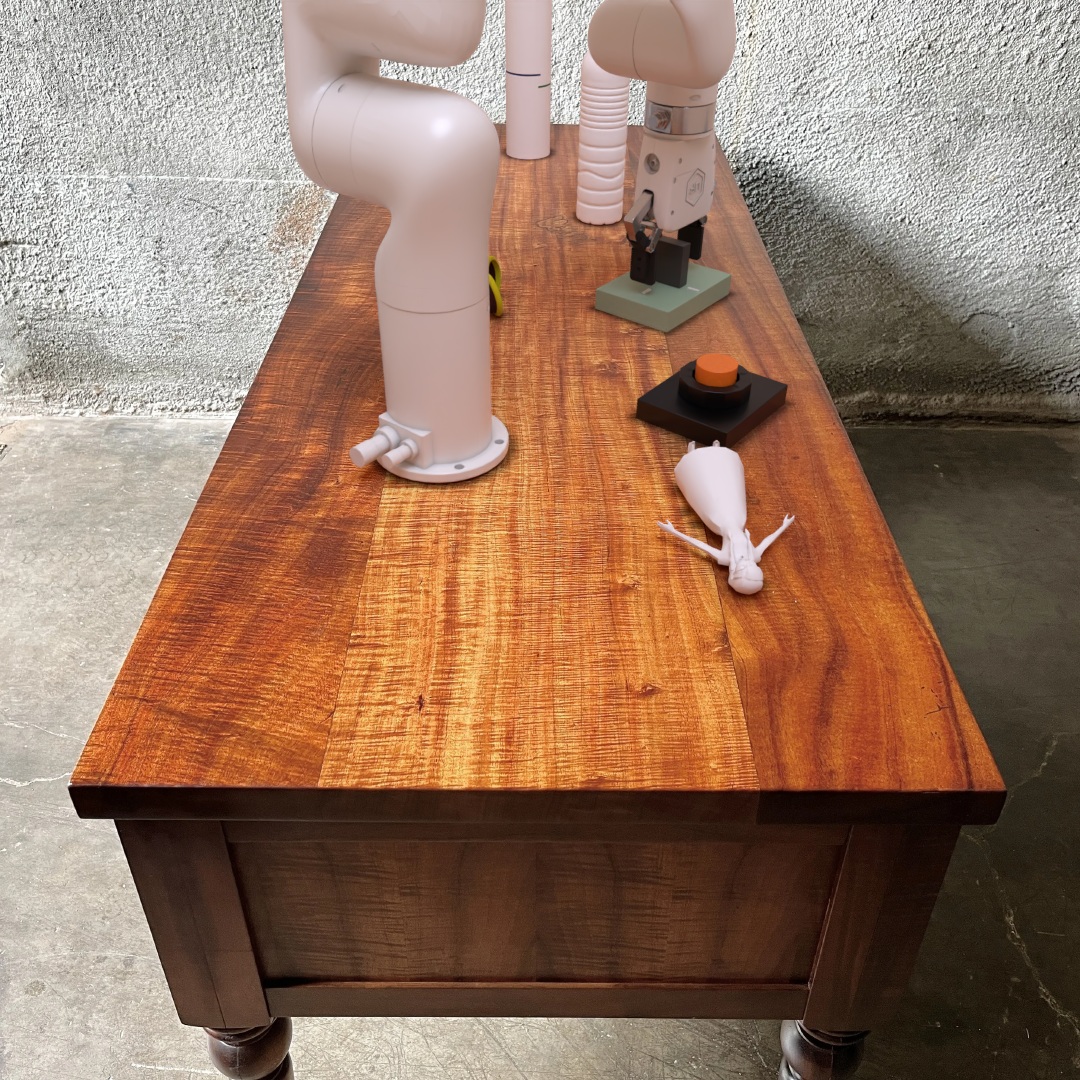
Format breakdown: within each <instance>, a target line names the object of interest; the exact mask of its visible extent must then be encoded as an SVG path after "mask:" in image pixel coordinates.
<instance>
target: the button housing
mask: <svg viewBox="0 0 1080 1080" xmlns="http://www.w3.org/2000/svg"><path fill="white" fill-rule="evenodd" d="M698 358H699V357H697V358H695V359H694V360H691V361H689V362H688V363H686V364H685V365H683V366H681V367H680V368H679V370H678V371H676V372H675V373H674V374H672V375H670V376H669V377H667V378H666V379H664V380H663V381H662V382H660V383H659V384H657V385H656V386H655V387H653V388H652V389H650V390H648V391H647V392H645V393H644V394H642V395H641V396H640V397H638V398H637V400H636V410H635V411H636V412H635V419H636V420H639V421H642V422H644V423H647V424H650V425H652V426H655V427H657V428H660V429H663V430H665V431H668V432H670V433H672V434H675V435H678V436H680V437H683V438H686V439H688V440H690V441H695V443H698V444H701V445H704V446H705V447H713V442H714V441H716V440H718V441H719V445H720V447H726V448H728V449H731V448H733V446H735V445H736V444H737V443H738V442H739V441H741V440H742V439H743V438H744V437H746V436H747V435H748V434H749V433H751V432H752V431H753V430H754V429H756V428H757V427H758V426H759V425H760V424H762V423H763V422H764V421H766V420H767V419H768V418H769V417H770V416H772V415H773V414H774V413H776V411H778V410H779V409H780V408H781V407H783V406H784V405H785V404H786V398H787V393H788V387H789V384H787V383H784V382H782V381H778V380H776V379H772V378H769V377H766V376H763V375H760V374H758V373H755V372H753V371H752V372H751V371H749V370H748V369H747V368H745V367H744V366H743V365H741V364H739V363H738V371H737V378H736V382H735V384H733V385H730V386H725V387H716V386H707V385H704V384H702V383H699V382H697V381H696V379H695V370H696V361H697V359H698Z"/></svg>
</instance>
